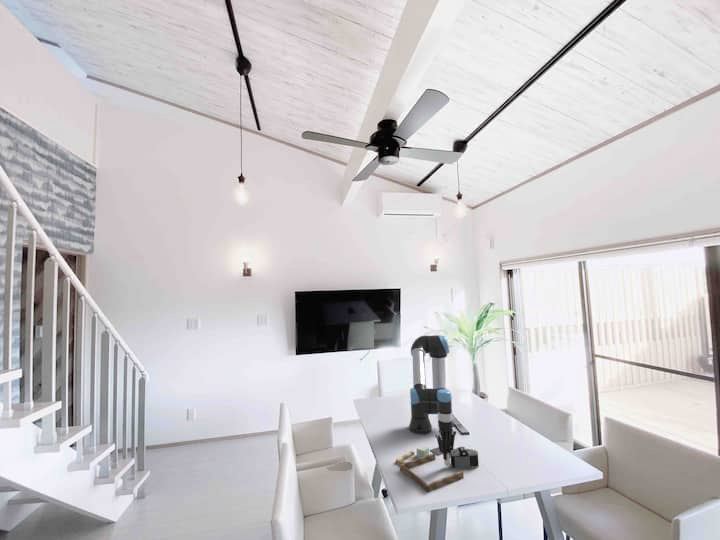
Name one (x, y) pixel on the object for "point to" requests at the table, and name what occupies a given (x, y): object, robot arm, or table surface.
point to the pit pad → (436, 451)
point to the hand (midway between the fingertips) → (447, 465)
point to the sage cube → (422, 451)
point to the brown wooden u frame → (420, 482)
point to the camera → (464, 458)
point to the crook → (404, 458)
